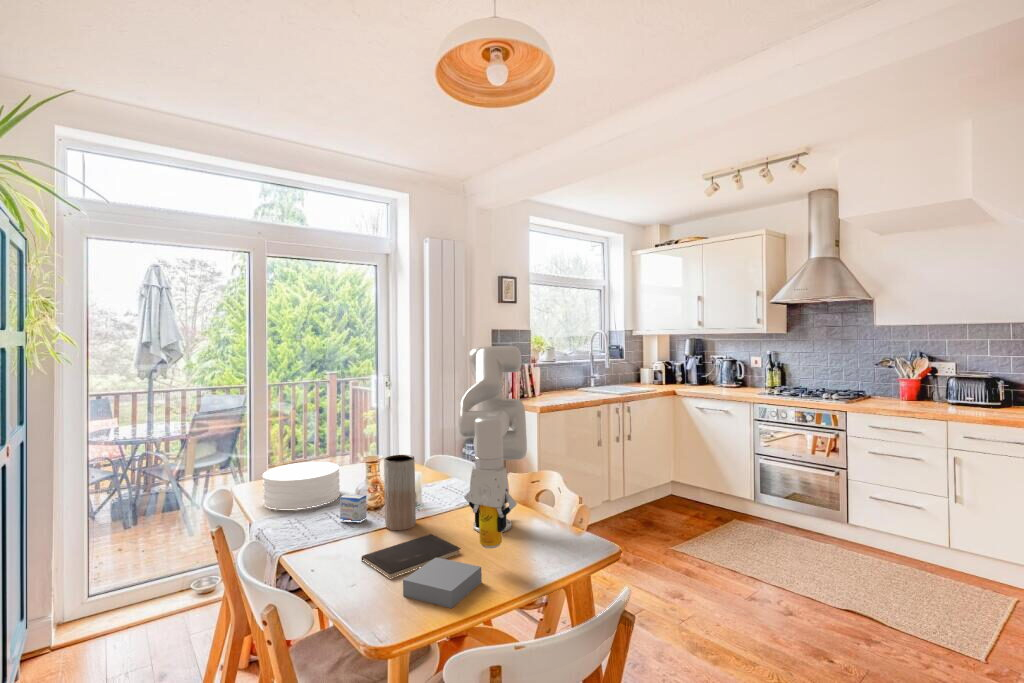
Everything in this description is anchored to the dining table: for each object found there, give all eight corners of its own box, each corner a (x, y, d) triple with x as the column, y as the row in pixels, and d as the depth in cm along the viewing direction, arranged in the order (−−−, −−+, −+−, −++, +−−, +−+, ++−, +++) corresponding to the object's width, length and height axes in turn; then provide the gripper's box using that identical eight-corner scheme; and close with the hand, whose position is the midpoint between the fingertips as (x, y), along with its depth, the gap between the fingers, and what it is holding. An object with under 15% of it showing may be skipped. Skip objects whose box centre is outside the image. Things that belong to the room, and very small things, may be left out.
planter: (393, 533, 168) (392, 463, 168) (380, 525, 176) (378, 457, 176) (421, 525, 175) (419, 458, 174) (406, 518, 182) (405, 453, 182)
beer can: (476, 541, 143) (475, 487, 143) (497, 537, 146) (496, 485, 145) (483, 550, 138) (482, 495, 137) (505, 546, 140) (504, 491, 139)
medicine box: (339, 522, 179) (339, 497, 179) (346, 518, 184) (346, 493, 184) (360, 524, 178) (360, 498, 177) (367, 519, 182) (366, 494, 182)
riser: (436, 572, 140) (435, 557, 140) (481, 582, 134) (481, 566, 134) (403, 595, 128) (402, 579, 127) (451, 608, 121) (451, 591, 121)
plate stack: (263, 495, 213) (263, 467, 213) (335, 485, 225) (335, 459, 225) (262, 516, 188) (262, 484, 188) (343, 504, 200) (343, 474, 200)
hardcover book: (460, 555, 152) (460, 547, 152) (389, 582, 136) (389, 573, 136) (430, 540, 163) (429, 533, 163) (361, 563, 148) (361, 554, 148)
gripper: (454, 462, 141) (456, 528, 142) (511, 470, 133) (513, 539, 134) (468, 455, 148) (470, 518, 149) (524, 462, 140) (525, 528, 141)
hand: (490, 527), depth 141 cm, fingers closed on beer can, 6 cm apart
